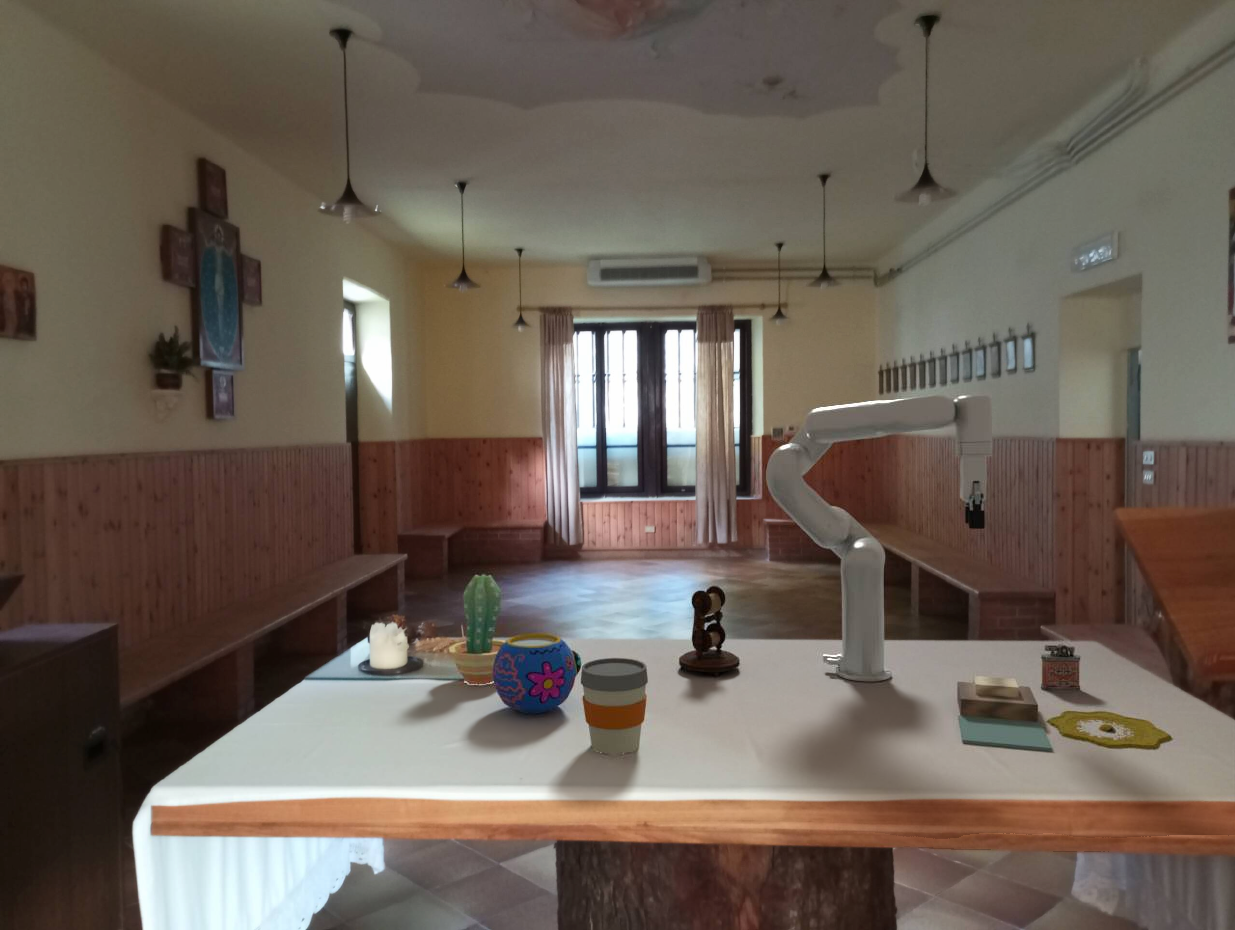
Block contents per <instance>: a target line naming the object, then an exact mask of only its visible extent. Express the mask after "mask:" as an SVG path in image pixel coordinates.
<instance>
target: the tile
mask: <svg viewBox="0 0 1235 930" xmlns="http://www.w3.org/2000/svg"><path fill="white" fill-rule="evenodd" d="M972 681H973V682H972V683H973V686H974V690H975V694H982V695H995V696H1008V697H1019V687H1018V686H1019V685H1018V683H1017V681H1016V678H1007V677H1006V678H1005V677H993V676H979V675H978V676H977V675H976V676H975V675H973V676H972Z"/></svg>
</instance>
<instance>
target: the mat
mask: <svg viewBox="0 0 1235 930" xmlns="http://www.w3.org/2000/svg"><path fill="white" fill-rule="evenodd" d="M957 720H958V724H959V725H958V726H959V729H960V730H959V731H960V734H961V735H960V737H961V741H962V744H970V745H980V746H992V747H1002V748H1012V749H1013V748H1014V749H1021V750H1022V749H1024V750H1032V751H1033V750H1034V751H1041V752H1042V751H1044V752H1045V751H1046V752H1053V746H1052V744H1051V741H1050V739H1049V737H1048V735H1047V733H1046V731H1045V729H1044V726H1043V724H1042V722H1041V721H1040V722H1039V721H1038V722H1032V721H1020V720H1008V719H996V718H985V717H973V716H961V715H960V714H959V715H957Z"/></svg>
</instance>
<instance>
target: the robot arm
mask: <svg viewBox="0 0 1235 930" xmlns="http://www.w3.org/2000/svg"><path fill="white" fill-rule="evenodd" d="M992 403H993V402H992V398H991V397H990V396H989V395H986V394H968V395H961V396H959V397H958V396H956V397H955V396H946V395H943V394H942V395H941V394H932V395H925V396H916V397H909V398H901V399H893V400H873V401H870V400H869V401H865V402H858V403H857V402H856V403H849V404H848V403H847V404H841V405H833V406H832V405H831V406H825V407H818V408H814V409H812V410H811V411H809V412H808V413H807V415H806V416H805V417H804V420H803V425H802V426H801V427H800V429H799V430H798V431H797V432H796V433H795V435H794V436H793V437H792V438H791V439H790V440H789V441H788V443H787V444H782V445H781V446H779V447H777V448H776V449H775V450H774V451H773V452H772V453H771V455H770V457H769V459H768V462H767V466H766V470H765V481H766V486H767V488H768V489H767V490H768V491H769V493H770V495H771V497H772V498H773V500H774V501H775V502H776V503H777V505H778V506H779V507H780V508H781V509H782V510H783V511H784V512H785V513H786V514H787V515H788V516H789V517H790V519H792V520H793V521H794V523H796V524H797V525H798V526H799V527H800V528H801V529H802V530H803V531H804V532H805V533H806V534H807V535H808V536H809V537H810V538H811V539H812V540H813V542H814V543H815V544H816V545H818V546H819V547H821V548H824V549H828V550H831V551H832V552H833V553H834V554H835V555H836V556H837V557H838V558H840V579H841V580H840V582H841V619H842V620H841V625H842V626H841V632H842V633H841V634H842V636H841V637H842V639H841V640H842V641H841V642H842V645H841V646H842V648H841V649H842V650H841V652H840V653H837V654H836V655H833V654H825V653H824V654H823V657H822V660H823V663H827V665H831V666H832V665H833V666H834V665H837V666H836V667H835V674H836V675H837V676H838V677H840V678H843V679H846V680H850V681H856V682H867V683H869V682H882V681H886V680H888V679H890V678H891V677H892V671H891V669H890V668H888V667H886V666H885V607H884V606H885V600H884V599H885V597H884V594H885V590H884V582H885V581H884V577H885V576H884V571H885V563H886V552H885V549H884V547H883V546H882V544H881V542H879V540H877V538H875V536H873V534H871V532H869V531H868V530H867V529H866V528H865V527H864V526H862V525H861V523H859V522H858V521H857V520H856V519H855V518H854V517H853V516H852V515H851V514H850V513H849V512H847V511H846V510H845V509H843V508H841V507H839V506H832V505H830V504H829V503H828V502H827V501H825V499H823V498H822V497H821V496H820V495H819V494H818V492H817V491H816V490H815V489H813V488H812V487H811V486H810V485H808V483H807V482H806V481H805V479H804V478H803V476H804V475H806V474H807V473H808V472H809V471H810V470H811V469H812V468H813V466H814V465H815V464H816V463H817V462H818V461H819V459H821V457H822V456H823V455H824V454H825V453H826V452H827V451H828V449H830V448H831V446H832V445H833V444H834V443H839V442H845V441H846V442H847V441H855V440H867V439H872V438H873V439H874V438H875V439H876V438H883V437H886V436H889V435H895V434H902V433H904V434H905V433H910V432H921V431H930V430H939V429H940V430H941V429H943V428H949V427H955V457H956V458H960V462H959V463H960V464H959V498H960V499H961V500H962V501H963V502H965V507H964V520H965V521H964V523H965V524H966V525H968V528H969V529H971V530H973V529H974V530H976V529H977V530H984V529H985V528H986V527H985V526H986V525H985V524H986V523H985V519H986V518H985V515H986V514H985V510H984V509H985V506H984V501H986V499H987V483H988V482H987V479H988V477H987V476H988V474H987V471H988V470H987V466H988V465H987V458H988V457H990V458H991V457H993V420H992V419H993V416H992V413H993V412H992V411H993V410H992V409H993V407H992V406H993V405H992Z"/></svg>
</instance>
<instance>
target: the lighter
mask: <svg viewBox="0 0 1235 930" xmlns="http://www.w3.org/2000/svg"><path fill="white" fill-rule="evenodd" d="M1075 648H1076V647H1075V646H1074V645H1065V644H1064V643H1058V645H1057V644H1045V645H1044V651H1046V652H1050V653H1042V654H1040V659H1041V683H1040V689H1041V690H1043V691H1048V692H1068V693H1069V692H1080V691H1081V685H1080V661H1081V656H1080V655H1078V654H1074V653H1075Z"/></svg>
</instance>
